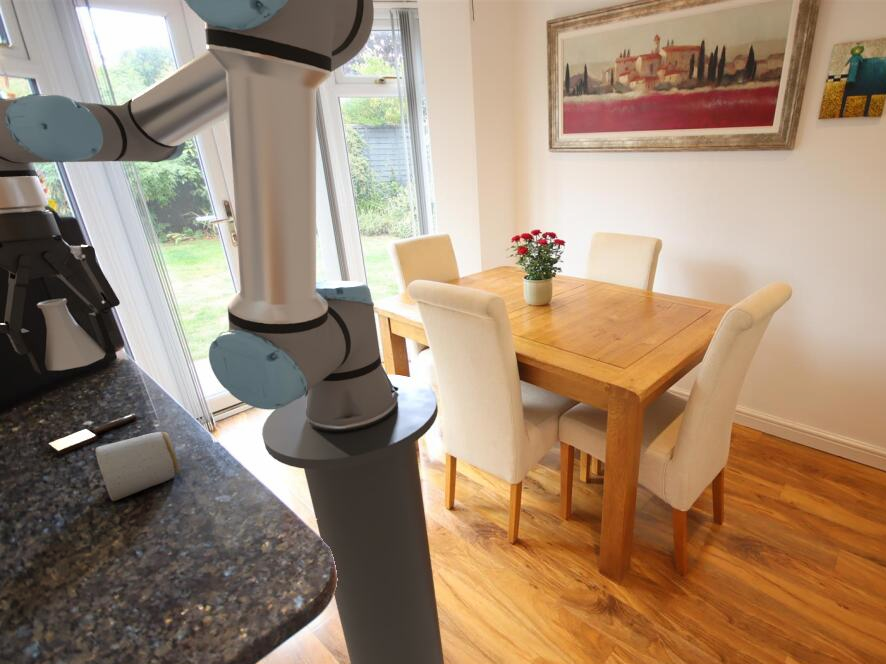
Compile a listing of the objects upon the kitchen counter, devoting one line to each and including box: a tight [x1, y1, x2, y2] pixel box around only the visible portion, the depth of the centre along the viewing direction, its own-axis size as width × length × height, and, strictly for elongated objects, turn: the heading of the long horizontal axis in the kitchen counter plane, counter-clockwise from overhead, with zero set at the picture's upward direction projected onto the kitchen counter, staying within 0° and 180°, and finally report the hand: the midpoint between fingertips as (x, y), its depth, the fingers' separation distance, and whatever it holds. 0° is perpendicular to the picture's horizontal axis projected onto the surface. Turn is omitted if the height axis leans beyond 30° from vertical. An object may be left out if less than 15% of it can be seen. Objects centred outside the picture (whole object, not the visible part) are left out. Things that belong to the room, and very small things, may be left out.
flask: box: [36, 298, 107, 371], centre depth 70 cm, size 7×7×10 cm
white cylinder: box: [95, 431, 181, 502], centre depth 66 cm, size 11×8×8 cm
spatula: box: [48, 413, 138, 456], centre depth 79 cm, size 12×4×1 cm, turn 149°
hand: (76, 361), depth 72 cm, fingers closed on flask, 8 cm apart
